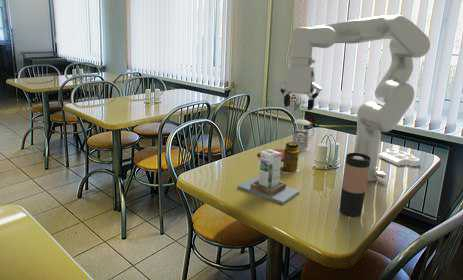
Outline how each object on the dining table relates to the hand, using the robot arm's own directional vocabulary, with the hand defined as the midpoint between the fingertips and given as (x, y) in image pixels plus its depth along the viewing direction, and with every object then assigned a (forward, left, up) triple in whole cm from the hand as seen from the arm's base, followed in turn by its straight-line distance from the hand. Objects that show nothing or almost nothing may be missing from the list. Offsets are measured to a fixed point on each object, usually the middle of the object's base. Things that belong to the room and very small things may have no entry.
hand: (298, 107), depth 139 cm
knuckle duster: (-27, -58, -31) cm, 70 cm away
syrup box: (+2, +15, -29) cm, 33 cm away
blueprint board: (+2, +15, -30) cm, 33 cm away
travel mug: (-28, +10, -30) cm, 42 cm away
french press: (+17, -40, -30) cm, 53 cm away
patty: (+20, -20, -31) cm, 42 cm away
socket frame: (+2, +15, -30) cm, 33 cm away
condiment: (+7, -9, -30) cm, 32 cm away
